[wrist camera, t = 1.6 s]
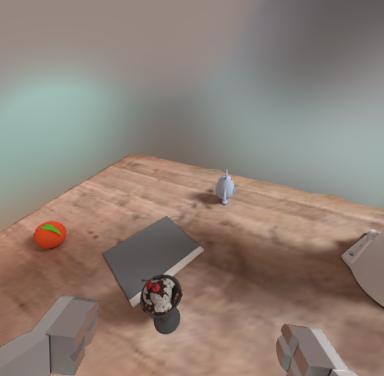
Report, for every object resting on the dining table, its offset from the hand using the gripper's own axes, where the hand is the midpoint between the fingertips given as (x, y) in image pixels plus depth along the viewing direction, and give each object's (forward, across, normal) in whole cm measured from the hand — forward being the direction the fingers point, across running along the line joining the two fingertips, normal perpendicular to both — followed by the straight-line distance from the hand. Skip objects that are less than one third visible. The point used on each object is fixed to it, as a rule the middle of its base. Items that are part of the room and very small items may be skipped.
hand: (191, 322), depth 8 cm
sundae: (+22, +1, +26) cm, 35 cm away
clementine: (+40, +33, +26) cm, 58 cm away
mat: (+37, +7, +22) cm, 43 cm away
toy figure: (+55, -13, +11) cm, 58 cm away
